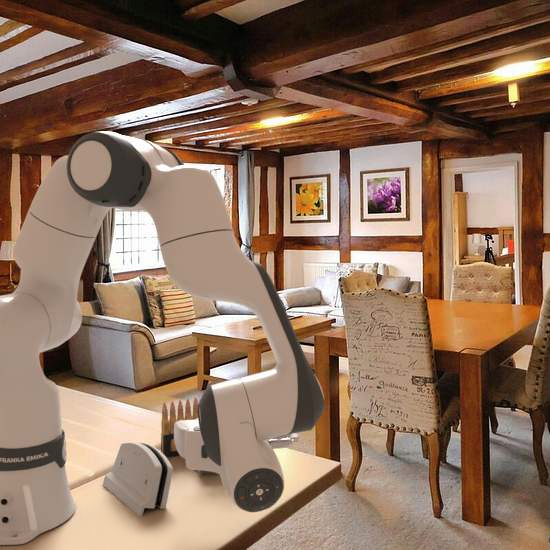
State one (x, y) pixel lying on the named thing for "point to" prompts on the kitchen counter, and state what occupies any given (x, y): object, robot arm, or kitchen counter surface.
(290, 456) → the kitchen counter surface
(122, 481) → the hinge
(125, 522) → the kitchen counter surface
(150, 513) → the kitchen counter surface
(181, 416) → the ammunition clip
